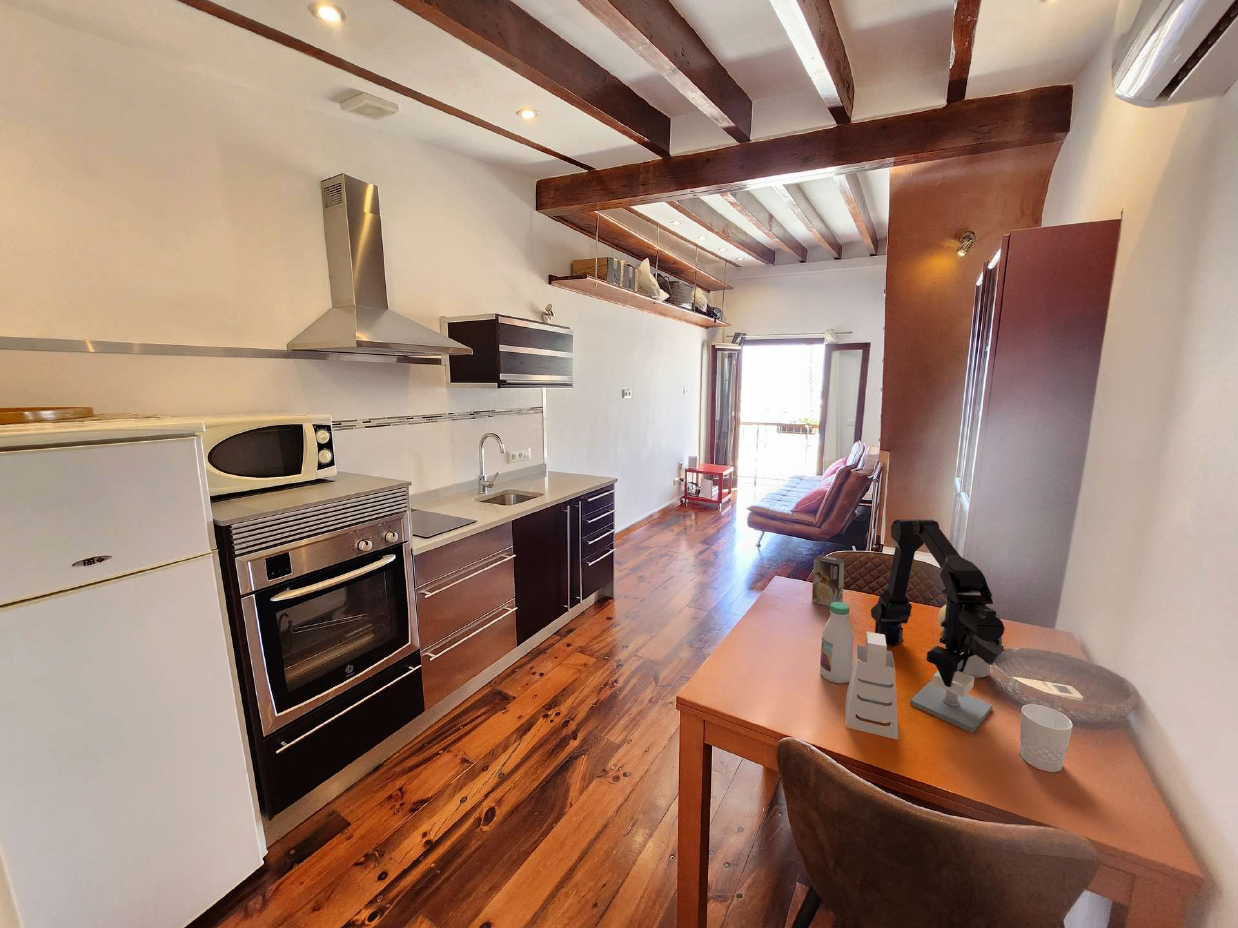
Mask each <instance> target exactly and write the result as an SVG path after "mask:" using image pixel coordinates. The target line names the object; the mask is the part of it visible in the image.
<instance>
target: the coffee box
mask: <svg viewBox="0 0 1238 928" xmlns="http://www.w3.org/2000/svg"><path fill="white" fill-rule="evenodd" d="M845 561H846V559H842V558H838V557H833V556H829V555H828V556H827V555H823V554H818V555H816V556H815V558H814V559H813V571H812V589H811V590H812V592H811V594H812V596H811V603H815V604H819V605H822V606H826V607H829V608H830V604H831V603H833V602H841V603H844V585H845V584H844V581H845Z"/></svg>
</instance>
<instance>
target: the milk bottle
mask: <svg viewBox="0 0 1238 928" xmlns="http://www.w3.org/2000/svg"><path fill="white" fill-rule="evenodd" d="M829 613H830V615H829V617H828V620H827V622H826V623H825V625H824V627H823V629H822V633H821V634H822V635H821V646H820V648H821V649H820V664H819V672H820V675H821V676H822V677H823V678H824V679H825V680H827V681H828V682H830V683H836V684H846V683H849V682H850V677H851V672H852V667H853V662H854V645H855V644H854V640H855V639H854V632H853V629H852V627H851V624H850V622H849V616H850V606H849V605H848V604H846V603H845V602H843V603H841V602H833V603H831V604H830V607H829Z"/></svg>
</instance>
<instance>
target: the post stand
mask: <svg viewBox="0 0 1238 928" xmlns="http://www.w3.org/2000/svg"><path fill="white" fill-rule="evenodd" d="M909 705H911V706H913V707H915V708H917V709H920V710H921V711H923V712H925V713H927V714H930V715H932V716H934V717H936V718H939V719H940V720H943V721H945V722H948V723H949V724H952V725H954V726H956V727H958V728H960V729H961V730H962V729H963V730H965V731H966V732H968V733H972V734H973V733H974V732H975V731H976V730H977V728H978V727H979V726H980V725H981V724H982V722H983V721H985V719H986V718H987V716H988V715H989V714H990V712H992V710H993V706H994V705H993V704H992V703H990V702H987V701H985V700H982V699H979V698H977V697H975V696H972V695H970V694H968V693H967V694H966V695H965V696H964V697H961V696H959V695H956V694H954V693H952V692H949V691H947V690H945V689H942V688H940V687H937V686H935V685H933V679H931V680H930V681H929V682H928V683H927V684H926V685H924V687H923V688H921V690H919V691H918V692H917V693H916V694H915V695H914V696H913V697H912V698H911V699H910V700H909Z"/></svg>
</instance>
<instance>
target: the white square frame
mask: <svg viewBox="0 0 1238 928" xmlns="http://www.w3.org/2000/svg"><path fill="white" fill-rule="evenodd" d="M932 677H933V678H932V680H933V685H935V686H937V687H940V688H942V689H945V690H947V691H949V692H952V693H954V694H956V695H959V696H961V697H964V696H965V695H966V694H968V693H969V692H970V691H971V690H972V689H973V688H974V685H975V677H973V676H970V675H968V674H965V673H963V672H960V671H957V672H955V675H954V679H953V682H952V684H951V687H947V686H945V685H944V682H943V680H942V678H941V676H940V673H939V671H938V670H937V671H936V672H935V673H934V674H933V676H932Z"/></svg>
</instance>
